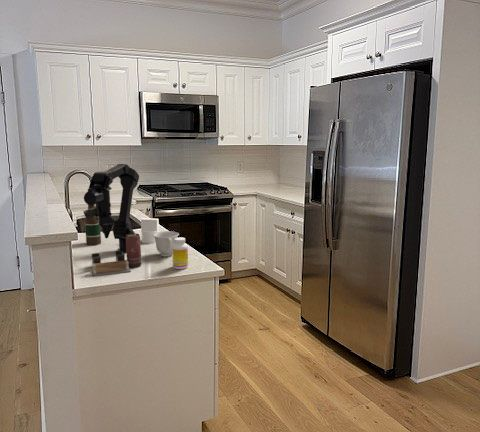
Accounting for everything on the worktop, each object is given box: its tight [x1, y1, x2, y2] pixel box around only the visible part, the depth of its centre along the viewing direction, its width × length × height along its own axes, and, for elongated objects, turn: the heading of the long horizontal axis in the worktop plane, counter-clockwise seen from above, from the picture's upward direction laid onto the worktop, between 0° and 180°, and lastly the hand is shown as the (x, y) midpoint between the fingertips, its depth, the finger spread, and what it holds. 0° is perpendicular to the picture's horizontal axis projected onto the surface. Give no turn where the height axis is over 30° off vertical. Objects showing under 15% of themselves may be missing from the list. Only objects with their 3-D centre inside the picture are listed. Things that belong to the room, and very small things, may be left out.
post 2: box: [115, 250, 126, 261], centre depth 195 cm, size 6×3×6 cm, turn 23°
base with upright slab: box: [140, 217, 160, 245], centre depth 233 cm, size 9×9×12 cm
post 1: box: [91, 252, 102, 267], centre depth 191 cm, size 6×3×6 cm, turn 23°
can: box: [125, 232, 142, 269], centre depth 193 cm, size 6×6×14 cm
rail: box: [92, 259, 130, 274], centre depth 186 cm, size 3×14×3 cm, turn 113°
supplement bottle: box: [171, 236, 189, 270], centre depth 192 cm, size 7×7×13 cm
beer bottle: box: [84, 204, 102, 246], centre depth 226 cm, size 8×8×24 cm
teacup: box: [153, 230, 180, 257], centre depth 209 cm, size 12×15×10 cm
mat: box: [91, 268, 131, 278], centre depth 186 cm, size 6×15×1 cm, turn 113°
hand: (105, 235), depth 197 cm, fingers open, 9 cm apart
